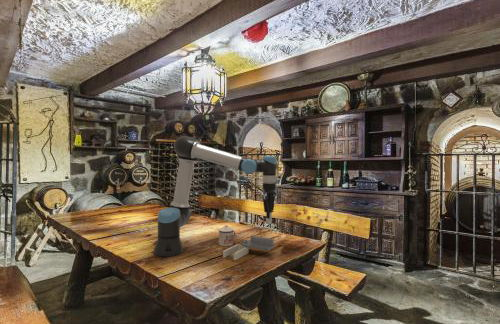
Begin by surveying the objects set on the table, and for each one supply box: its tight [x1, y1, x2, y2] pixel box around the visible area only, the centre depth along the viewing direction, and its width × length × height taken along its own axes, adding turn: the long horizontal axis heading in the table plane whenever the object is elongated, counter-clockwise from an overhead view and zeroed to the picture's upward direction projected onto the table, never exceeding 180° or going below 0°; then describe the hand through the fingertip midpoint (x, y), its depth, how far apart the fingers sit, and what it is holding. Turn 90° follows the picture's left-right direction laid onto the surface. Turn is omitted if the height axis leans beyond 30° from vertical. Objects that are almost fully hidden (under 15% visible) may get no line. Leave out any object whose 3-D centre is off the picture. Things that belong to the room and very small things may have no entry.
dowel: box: [228, 249, 242, 260], centre depth 147 cm, size 9×3×3 cm
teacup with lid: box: [218, 224, 237, 247], centre depth 168 cm, size 12×9×12 cm
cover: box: [241, 234, 275, 252], centre depth 153 cm, size 9×18×4 cm, turn 61°
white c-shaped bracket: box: [222, 243, 250, 261], centre depth 150 cm, size 8×17×4 cm, turn 151°
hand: (268, 223), depth 159 cm, fingers closed
